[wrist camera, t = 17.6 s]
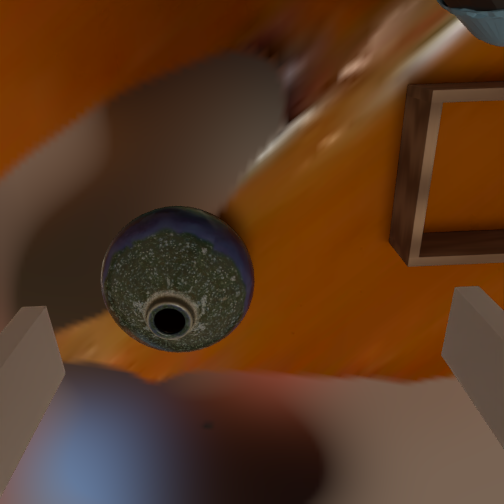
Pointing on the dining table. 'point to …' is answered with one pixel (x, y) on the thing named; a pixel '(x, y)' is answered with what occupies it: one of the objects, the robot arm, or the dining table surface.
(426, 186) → the square wooden frame
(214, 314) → the vase
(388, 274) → the dining table surface
